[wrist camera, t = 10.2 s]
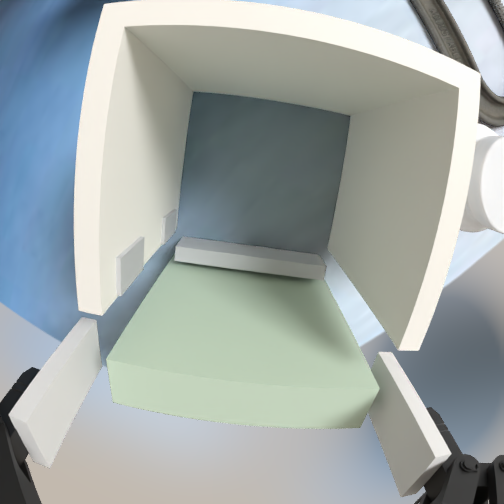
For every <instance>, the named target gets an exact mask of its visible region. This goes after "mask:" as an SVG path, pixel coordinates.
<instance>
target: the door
mask: <svg viewBox="0 0 504 504" xmlns="http://www.w3.org/2000/svg"><path fill="white" fill-rule="evenodd" d="M106 361H107V368H108V375H109V382H110V388H111V394H112V400H113V403H117V404H121V405H126V406H130V407H134V408H138V409H143V410H148V411H153V412H157V413H163V414H168V415H174V416H179V417H185V418H192V419H198V420H205V421H213V422H220V423H229V424H239V425H249V426H262V427H278V428H305V429H310V428H311V429H337V428H339V429H340V428H360V427H361V425H362V423H363V421H364V419H365V417H366V415H367V413H368V411H369V409H370V407H371V405H372V403H373V401H374V399H375V397H376V395H377V393H378V391H379V389H380V388H379V386H378V384H377V382H376V380H375V378H374V376H373V374H372V372H371V370H370V368H369V366H368V363H367V361H366V359H365V358H364V355H363V354H362V351H361V350H360V347H359V345H358V343H357V341H356V339H355V337H354V335H353V333H352V331H351V329H350V327H349V326H348V324H347V322H346V320H345V318H344V316H343V314H342V312H341V310H340V308H339V306H338V304H337V302H336V300H335V299H334V297H333V295H332V293H331V291H330V289H329V287H328V285H327V284H326V282H325V280H316V279H308V278H300V277H292V276H284V275H276V274H269V273H261V272H253V271H246V270H238V269H231V268H223V267H216V266H209V265H201V264H194V263H187V262H180V261H175V254H174V255H173V257H172V258H171V260H170V261H169V263H168V264H167V265H166V267H165V268H164V270H163V271H162V273H161V274H160V276H159V277H158V279H157V280H156V282H155V283H154V285H153V286H152V288H151V289H150V291H149V292H148V294H147V295H146V297H145V298H144V300H143V301H142V303H141V304H140V306H139V307H138V309H137V311H136V312H135V314H134V315H133V317H132V318H131V320H130V321H129V323H128V325H127V326H126V328H125V329H124V331H123V333H122V334H121V336H120V337H119V339H118V340H117V342H116V344H115V345H114V347H113V349H112V350H111V352H110V353H109V355H108V357H107V358H106Z"/></svg>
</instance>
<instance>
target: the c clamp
mask: <svg viewBox="0 0 504 504" xmlns="http://www.w3.org/2000/svg"><path fill="white" fill-rule="evenodd" d="M411 2H412V4H413V6H414V7H415V9H416V10H417V12H418V14H419V16H420V17H421V19H422V21H423V23H424V25H425V26H426V28H427V30H428V32H429V34H430V36H431V37H432V39H433V41H434V43H435V45H436V47H437V49H438V51H439V53H440V54H442V55H445V56H447V57H449V58H451V59H453V60H455V61H457V62H459V63H461V64H463V65H465V66H467V67H469V68H471V69H473V70H475V71H477V72H478V73H480V72H479V69H478V67H477V65H476V62H475V60H474V57H473V55H472V53H471V51H470V49H469V47H468V45H467V43H466V41H465V39H464V37H463V35H462V33H461V31H460V29H459V27H458V25H457V23H456V21H455V20H454V18H453V16H452V14H451V13H450V11H449V9H448V7H447V6H446V4H445V2H444V1H443V0H411ZM489 3H491V6H492V8H493V9H494V11H495V14H496V15H497V17H498V20H499V21H500V23H501V26H502V27H503V29H504V6H503V4H502V3H501V0H489ZM478 119H480V120H481V121H483V122H485V123H487V124H489V125H492V126H504V97H500V96H497V95H496V94H494V93H493V92H492V91H491V90H490V89H489V87H488V86H487V85H486V83H485V82H484V80H483V78H482V76H481V78H480V102H479V116H478Z"/></svg>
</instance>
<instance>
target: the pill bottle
mask: <svg viewBox="0 0 504 504" xmlns="http://www.w3.org/2000/svg"><path fill="white" fill-rule="evenodd" d="M486 229H491V230H494V231H496V232H499V233H503V234H504V136H498V135H497V134H496V133H495V132H494V131H492V130H491V129H490V128H488V127H486V126H485V125H482V124H479V123H478V127H477V136H476V145H475V152H474V159H473V166H472V172H471V178H470V184H469V189H468V194H467V199H466V204H465V208H464V213H463V217H462V222H461V226H460V230H461V231H465V232H479V231H483V230H486Z"/></svg>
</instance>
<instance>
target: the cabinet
mask: <svg viewBox="0 0 504 504" xmlns="http://www.w3.org/2000/svg"><path fill="white" fill-rule="evenodd" d="M480 78H481V74H480V73H478V72H477V71H475V70H473V69H471V68H469V67H467V66H465V65H463V64H461V63H459V62H457V61H455V60H453V59H451V58H449V57H447V56H445V55H442V54H440V53H438V52H436V51H433V50H431V49H429V48H426V47H424V46H422V45H419V44H417V43H414V42H412V41H409V40H406V39H404V38H401V37H398V36H396V35H393V34H390V33H387V32H384V31H381V30H378V29H375V28H372V27H368V26H365V25H362V24H358V23H355V22H351V21H348V20H344V19H340V18H336V17H332V16H328V15H324V14H319V13H315V12H310V11H305V10H300V9H294V8H288V7H282V6H276V5H269V4H261V3H253V2H243V1H232V0H137V1H125V2H116V3H108V4H104V6H103V10H102V13H101V17H100V20H99V24H98V28H97V32H96V36H95V40H94V44H93V48H92V53H91V57H90V62H89V67H88V72H87V78H86V83H85V89H84V95H83V102H82V109H81V116H80V124H79V133H78V143H77V154H76V168H75V187H74V253H75V273H76V287H77V298H78V308H79V311H83V312H87V313H91V314H96V315H101V316H103V314H104V313H105V312H106V311H107V309H108V308H109V307H110V306H111V304H112V303H113V302H114V301H115V299H116V298H117V297H118V296H122V295H123V294H124V292H125V291H126V290H127V289H128V287H129V286H130V285H131V284H132V283H133V281H134V280H135V279H136V278H137V276H138V275H139V274H140V273H141V272H142V270H143V266H144V265H145V264H146V262H147V261H148V260H149V259H150V258H151V257H152V256H153V254H154V253H155V252H156V251H157V250H158V249H159V248H160V246H161V245H164V244H165V243H166V242H167V241H168V240H169V239H170V238H171V236H172V235H173V234H174V233H175V230H176V228H177V221H178V210H179V200H180V190H181V180H182V171H183V163H184V154H185V146H186V139H187V131H188V124H189V117H190V110H191V104H192V97H193V91H194V92H207V93H218V94H228V95H236V96H245V97H252V98H260V99H266V100H273V101H279V102H285V103H291V104H297V105H302V106H307V107H312V108H317V109H322V110H327V111H331V112H336V113H340V114H345V115H349V116H351V118H350V125H349V132H348V139H347V145H346V151H345V157H344V163H343V169H342V175H341V181H340V186H339V192H338V197H337V203H336V208H335V213H334V218H333V223H332V228H331V233H330V238H329V243H328V247H327V249H328V250H329V252H330V253H331V254H332V256H333V257H334V258H335V260H336V261H337V263H338V264H339V265H340V267H341V268H342V269H343V271H344V272H345V274H346V275H347V276H348V278H349V279H350V281H351V282H352V283H353V285H354V286H355V288H356V289H357V290H358V292H359V293H360V295H361V296H362V298H363V299H364V300H365V302H366V303H367V305H368V306H369V308H370V309H371V311H372V312H373V314H374V315H375V316H376V318H377V319H378V321H379V322H380V324H381V325H382V327H383V328H384V330H385V331H386V333H387V334H388V336H389V337H390V339H391V340H392V342H393V343H394V345H395V346H396V348H397V349H398V350H416V351H418V350H419V348H420V346H421V344H422V341H423V339H424V337H425V334H426V332H427V329H428V327H429V324H430V321H431V319H432V316H433V314H434V311H435V308H436V305H437V302H438V300H439V297H440V294H441V291H442V288H443V285H444V282H445V279H446V276H447V273H448V269H449V266H450V263H451V259H452V256H453V252H454V249H455V245H456V242H457V238H458V234H459V230H460V226H461V222H462V217H463V213H464V208H465V204H466V199H467V194H468V189H469V184H470V178H471V172H472V166H473V159H474V152H475V145H476V136H477V127H478V116H479V102H480ZM175 261H180V262H187V263H194V264H201V265H209V266H216V267H223V268H231V269H238V270H246V271H253V272H261V273H269V274H276V275H284V276H292V277H300V278H308V279H316V280H324V276H325V272H326V267H327V266H326V265H325V263H324V261H323V260H322V258H321V257H320V255H318V254H311V253H303V252H296V251H289V250H282V249H274V248H267V247H260V246H252V245H245V244H238V243H230V242H223V241H215V240H208V239H200V238H193V237H185V236H183V237H182V238H181V240H180V241H179V242H178V244H177V245H176V246H175Z"/></svg>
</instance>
